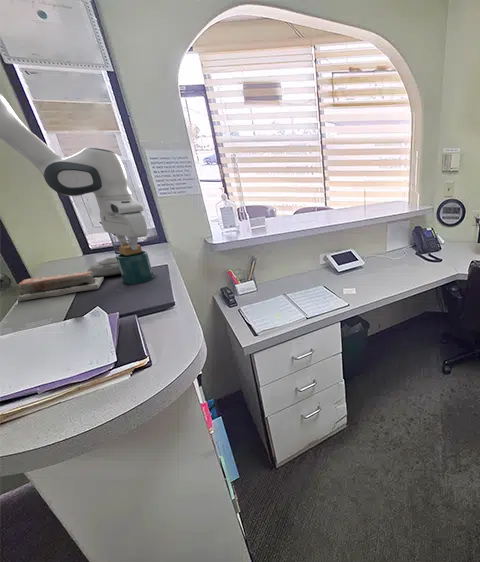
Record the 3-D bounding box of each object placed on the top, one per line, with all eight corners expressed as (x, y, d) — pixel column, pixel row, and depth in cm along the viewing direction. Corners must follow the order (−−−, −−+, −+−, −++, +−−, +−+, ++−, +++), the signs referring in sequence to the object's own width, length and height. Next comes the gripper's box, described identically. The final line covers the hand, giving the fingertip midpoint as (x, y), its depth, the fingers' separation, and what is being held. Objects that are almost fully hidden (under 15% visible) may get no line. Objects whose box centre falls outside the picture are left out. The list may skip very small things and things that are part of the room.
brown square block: (126, 255, 98) (124, 248, 97) (120, 253, 100) (118, 246, 99) (142, 252, 102) (140, 245, 101) (136, 250, 104) (134, 243, 103)
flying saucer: (119, 279, 104) (114, 264, 102) (76, 279, 105) (70, 264, 103) (150, 265, 118) (146, 252, 116) (112, 265, 119) (107, 252, 117)
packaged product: (10, 286, 86) (23, 276, 93) (17, 302, 87) (30, 291, 95) (94, 274, 94) (100, 266, 102) (99, 289, 96) (104, 280, 104)
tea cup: (131, 285, 99) (123, 258, 96) (119, 281, 103) (110, 255, 99) (158, 277, 106) (151, 252, 103) (145, 274, 109) (138, 249, 106)
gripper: (89, 204, 97) (103, 246, 102) (121, 208, 88) (135, 254, 93) (112, 202, 103) (124, 242, 108) (145, 205, 93) (157, 249, 98)
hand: (130, 248), depth 100 cm, fingers closed on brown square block, 4 cm apart
